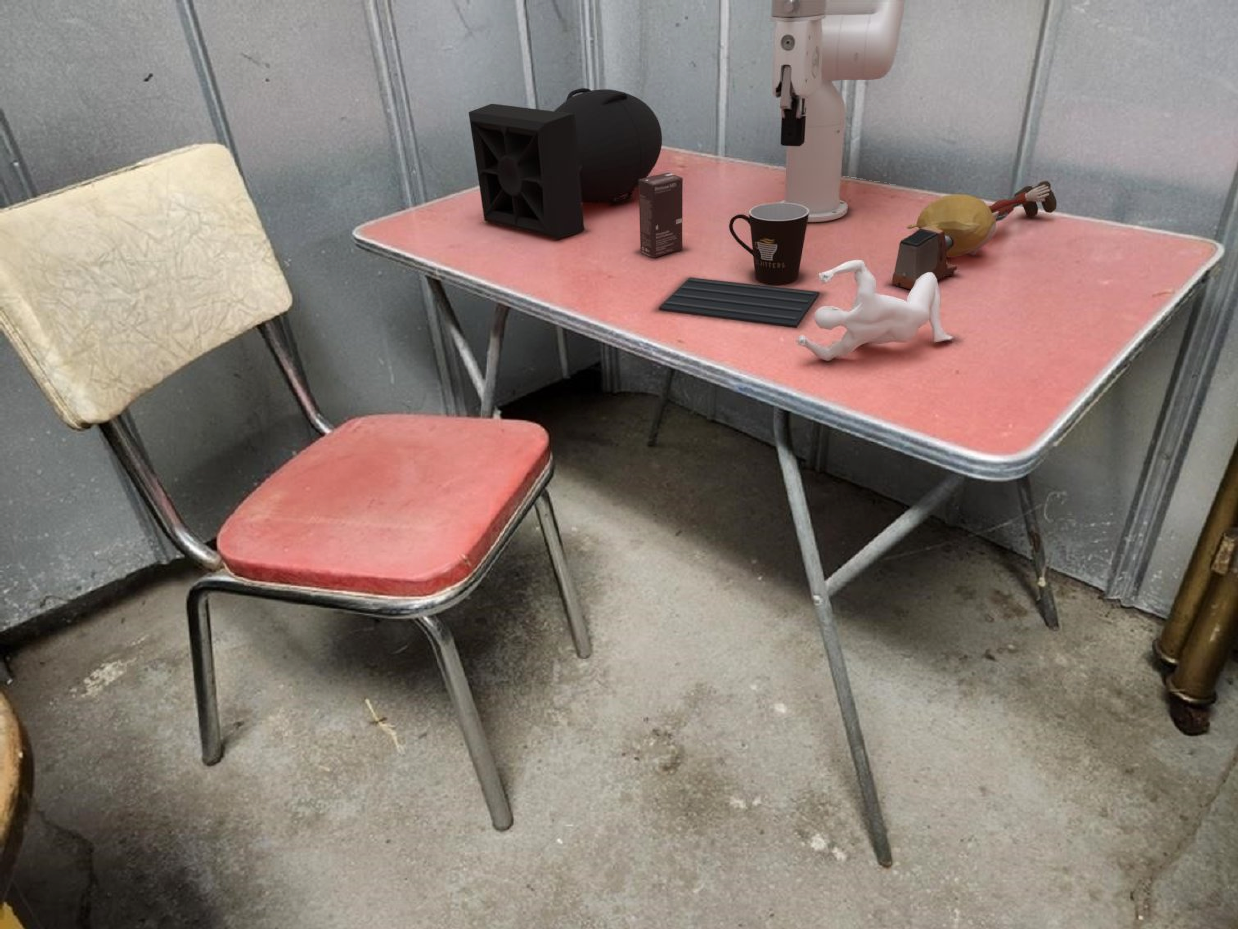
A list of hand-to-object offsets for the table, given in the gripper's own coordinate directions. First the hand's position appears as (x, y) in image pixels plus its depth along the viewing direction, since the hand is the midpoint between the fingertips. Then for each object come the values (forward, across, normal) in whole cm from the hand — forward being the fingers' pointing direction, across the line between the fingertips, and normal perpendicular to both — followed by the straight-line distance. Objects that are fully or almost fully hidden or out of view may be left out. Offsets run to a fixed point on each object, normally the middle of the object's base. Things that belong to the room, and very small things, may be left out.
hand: (792, 144), depth 130 cm
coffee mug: (+17, -9, 0) cm, 19 cm away
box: (+17, -4, +20) cm, 27 cm away
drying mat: (+17, -20, +1) cm, 27 cm away
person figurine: (+18, -31, -20) cm, 41 cm away
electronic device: (+17, -5, -22) cm, 28 cm away
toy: (+17, +15, -28) cm, 36 cm away
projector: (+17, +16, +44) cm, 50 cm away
